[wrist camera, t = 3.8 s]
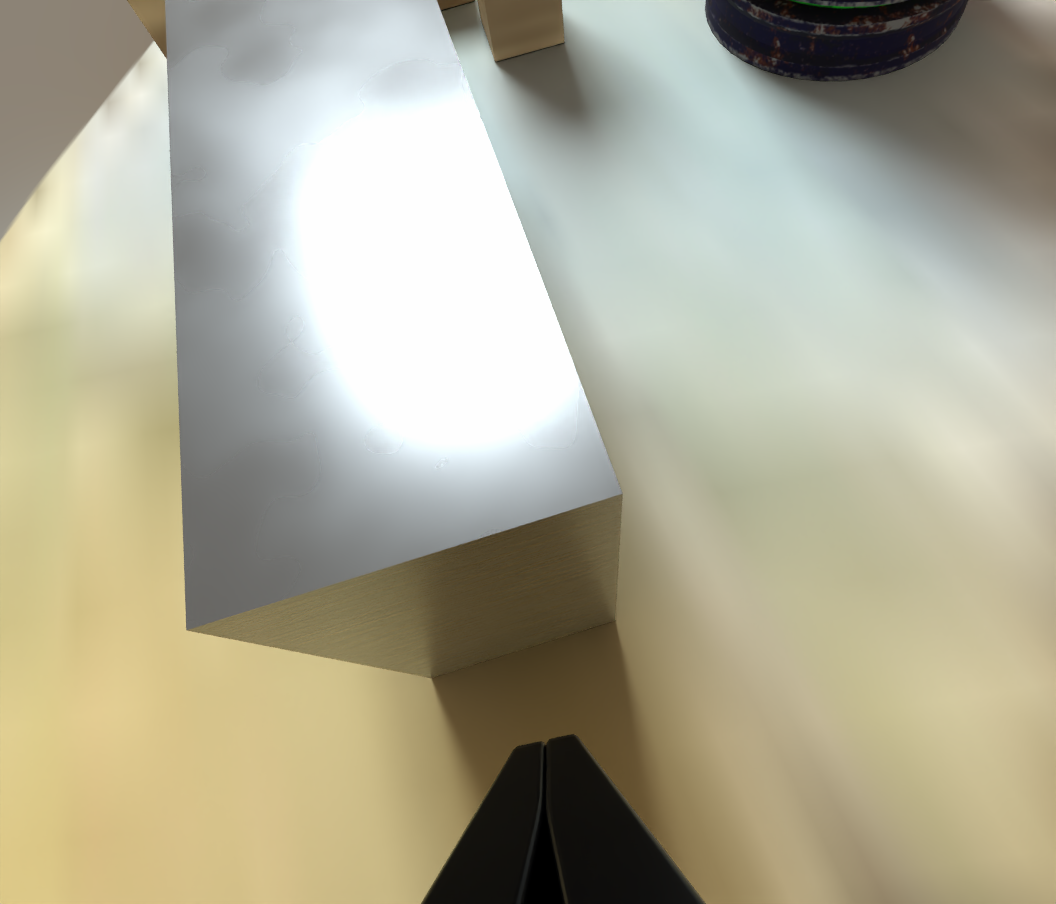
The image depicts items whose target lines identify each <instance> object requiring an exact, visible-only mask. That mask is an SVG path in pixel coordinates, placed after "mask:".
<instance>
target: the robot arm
mask: <svg viewBox="0 0 1056 904" xmlns="http://www.w3.org/2000/svg"><path fill="white" fill-rule="evenodd" d="M421 904H706V903H705V902H704V901H703V899H702V898H701V897H700V895H699V894H698V893H697V892H696V890H695V889H694V888H693V886H692V885H691V884H690V882H689V881H688V880H687V878H686V877H685V876H684V875H683V873H682V872H681V871H680V869H679V868H678V867H677V865H676V864H675V863H674V861H673V860H672V859H671V858H670V856H669V855H668V854H667V852H666V851H665V850H664V848H663V847H662V846H661V844H660V843H659V842H658V841H657V839H656V838H655V837H654V835H653V834H652V833H651V831H650V830H649V829H648V827H647V826H646V825H645V824H644V822H643V821H642V820H641V818H640V817H639V816H638V814H637V813H636V812H635V810H634V809H633V808H632V807H631V805H630V804H629V803H628V801H627V800H626V799H625V797H624V796H623V795H622V793H621V792H620V791H619V790H618V788H617V787H616V786H615V784H614V783H613V782H612V780H611V779H610V778H609V776H608V775H607V774H606V773H605V771H604V770H603V769H602V767H601V766H600V765H599V763H598V762H597V761H596V759H595V758H594V757H593V756H592V754H591V753H590V752H589V750H588V749H587V748H586V746H585V745H584V744H583V742H582V741H581V740H580V739H579V737H578V736H576V735H575V734H570V735H566V736H561V737H557V738H552V739H550V740H549V741H548V742H547V744H545V743H544V742H542V741H539V742H534V743H530V744H526V745H521V746H518V747H516V748H515V749H514V750H513V751H512V753H511V755H510V756H509V758H508V760H507V761H506V763H505V765H504V766H503V768H502V770H501V771H500V773H499V775H498V776H497V778H496V780H495V781H494V783H493V785H492V786H491V788H490V790H489V791H488V793H487V795H486V796H485V798H484V800H483V801H482V803H481V805H480V806H479V808H478V810H477V811H476V813H475V815H474V816H473V818H472V820H471V821H470V823H469V825H468V826H467V828H466V830H465V831H464V833H463V835H462V836H461V838H460V840H459V841H458V843H457V845H456V846H455V848H454V850H453V851H452V853H451V855H450V856H449V858H448V860H447V861H446V863H445V865H444V866H443V868H442V870H441V871H440V873H439V875H438V876H437V878H436V880H435V881H434V883H433V885H432V886H431V888H430V890H429V891H428V893H427V895H426V896H425V898H424V900H423V901H422V903H421Z"/></svg>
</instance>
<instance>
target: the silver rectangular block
mask: <svg viewBox="0 0 1056 904" xmlns="http://www.w3.org/2000/svg"><path fill="white" fill-rule="evenodd" d="M165 16H166V45H167V75H168V104H169V133H170V162H171V192H172V221H173V250H174V280H175V309H176V338H177V368H178V397H179V426H180V456H181V485H182V514H183V544H184V573H185V602H186V630H188V631H193V632H198V633H203V634H208V635H213V636H218V637H223V638H229V639H234V640H239V641H244V642H249V643H254V644H259V645H264V646H270V647H275V648H280V649H285V650H290V651H295V652H300V653H305V654H311V655H316V656H321V657H326V658H331V659H336V660H341V661H346V662H352V663H357V664H362V665H367V666H372V667H377V668H382V669H387V670H393V671H398V672H403V673H408V674H413V675H418V676H423V677H428V678H433V677H436V676H440V675H443V674H446V673H449V672H452V671H456V670H459V669H462V668H465V667H468V666H472V665H475V664H478V663H481V662H484V661H487V660H491V659H494V658H497V657H500V656H503V655H507V654H510V653H513V652H516V651H519V650H523V649H526V648H529V647H532V646H535V645H539V644H542V643H545V642H548V641H551V640H555V639H558V638H561V637H564V636H567V635H570V634H574V633H577V632H580V631H583V630H586V629H590V628H593V627H596V626H599V625H602V624H606V623H609V622H612V621H615V613H616V596H617V579H618V562H619V545H620V528H621V511H622V491H621V488H620V486H619V483H618V480H617V478H616V475H615V472H614V470H613V467H612V464H611V462H610V459H609V457H608V454H607V451H606V449H605V446H604V443H603V441H602V438H601V435H600V433H599V430H598V427H597V425H596V422H595V419H594V417H593V414H592V411H591V409H590V406H589V403H588V401H587V398H586V395H585V393H584V390H583V387H582V385H581V382H580V379H579V377H578V374H577V372H576V369H575V366H574V364H573V361H572V358H571V356H570V353H569V350H568V348H567V345H566V342H565V340H564V337H563V334H562V332H561V329H560V326H559V324H558V321H557V318H556V316H555V313H554V310H553V308H552V305H551V302H550V300H549V297H548V294H547V292H546V289H545V287H544V284H543V281H542V279H541V276H540V273H539V271H538V268H537V265H536V263H535V260H534V257H533V255H532V252H531V249H530V247H529V244H528V241H527V239H526V236H525V233H524V231H523V228H522V225H521V223H520V220H519V217H518V215H517V212H516V210H515V207H514V204H513V202H512V199H511V196H510V194H509V191H508V188H507V186H506V183H505V180H504V178H503V175H502V172H501V170H500V167H499V164H498V162H497V159H496V156H495V154H494V151H493V148H492V146H491V143H490V140H489V138H488V135H487V132H486V130H485V127H484V125H483V122H482V119H481V117H480V114H479V111H478V109H477V106H476V103H475V101H474V98H473V95H472V93H471V90H470V87H469V85H468V82H467V79H466V77H465V74H464V71H463V69H462V66H461V63H460V61H459V58H458V55H457V53H456V50H455V47H454V45H453V42H452V40H451V37H450V34H449V32H448V29H447V26H446V24H445V21H444V18H443V16H442V13H441V10H440V8H439V5H438V2H437V0H165Z"/></svg>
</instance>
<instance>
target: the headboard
mask: <svg viewBox="0 0 1056 904" xmlns="http://www.w3.org/2000/svg"><path fill="white" fill-rule="evenodd" d="M127 1H128V2H129V4H130V5H131V7H132V8H133V10H134V11H135V13H136V14H137V16H138V17H139V19H140V20H141V21H142V23H143V24H144V26H145V27H146V29H147V30H148V32H149V33H150V35H151V36H152V38H153V39H154V41H155V42H156V44H157V45H158V47H159V48H160V50H161V51H162V53H163V54H164V56H165V57H166V58H167V45H166V16H165V0H127ZM472 1H475V0H437V2H438V5H439V8H440V10H443V9H447V8H450V7H454V6H458V5H461V4H465V3H468V2H472ZM478 6H479V11H480V16H481V21H482V24H483V27H484V30H485V33H486V36H487V39H488V42H489V45H490V48H491V51H492V54H493V57H494V60H495V62H496V61H500V60H503V59H507V58H510V57H514V56H517V55H521V54H525V53H528V52H532V51H535V50H539V49H542V48H546V47H550V46H553V45H557V44H560V43H564V29H563V14H562V0H478Z"/></svg>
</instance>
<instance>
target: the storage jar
mask: <svg viewBox="0 0 1056 904" xmlns="http://www.w3.org/2000/svg"><path fill="white" fill-rule="evenodd" d="M967 2H968V0H706V5H705V11H706V17H707V22H708V24H709V26H710V28H711V31H712V32H713V34H714V35H715V36H716V38H717V39H718V41H719V42H720V43H721V44H722V45H723V46H724V47H725V48H727V49H728V50H729V51H730V52H731V53H732V54H734V55H736V56H737V57H739V58H740V59H742V60H743V61H745V62H747V63H749V64H751V65H753V66H756V67H758V68H760V69H763V70H766V71H769V72H772V73H775V74H778V75H782V76H787V77H792V78H797V79H806V80H816V81H845V80H855V79H864V78H869V77H873V76H878V75H883V74H886V73H889V72H892V71H895V70H898V69H901V68H904V67H906V66H909V65H911V64H913V63H915V62H917V61H919V60H921V59H923V58H924V57H926V56H927V55H929V54H930V53H932V52H933V51H935V50H936V49H937V48H938V47H939V46H940V45H941V44H942V43H944V42H945V41H946V40H947V39H948V37H949V36H950V35H951V33H952V32H953V30H954V29H955V27H956V26H957V24H958V22H959V20H960V18H961V16H962V14H963V12H964V9H965V7H966V4H967Z"/></svg>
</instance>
